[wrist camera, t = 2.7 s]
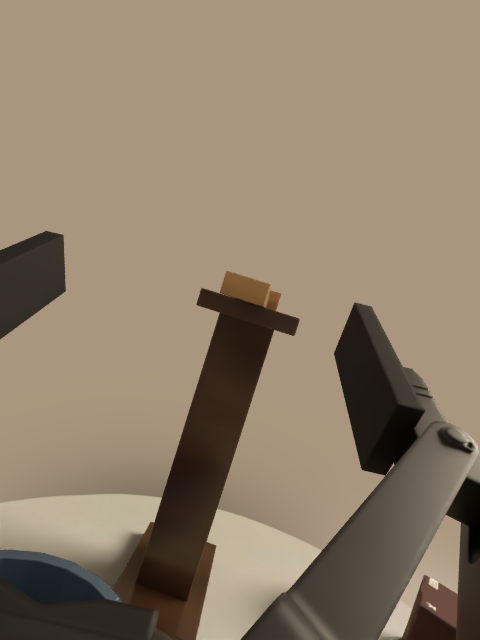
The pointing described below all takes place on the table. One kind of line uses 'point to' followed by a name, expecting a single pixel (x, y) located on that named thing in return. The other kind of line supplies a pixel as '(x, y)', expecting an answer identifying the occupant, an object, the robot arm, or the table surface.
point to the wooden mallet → (250, 291)
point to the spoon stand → (201, 469)
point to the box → (433, 613)
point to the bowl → (51, 578)
